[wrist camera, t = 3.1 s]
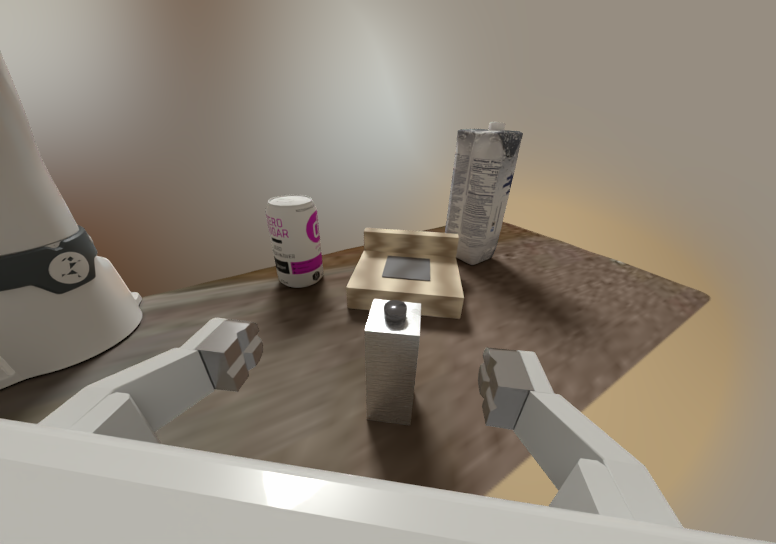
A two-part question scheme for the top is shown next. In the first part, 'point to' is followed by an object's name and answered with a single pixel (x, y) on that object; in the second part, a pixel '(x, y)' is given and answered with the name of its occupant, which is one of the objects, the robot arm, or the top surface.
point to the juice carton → (481, 189)
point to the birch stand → (408, 271)
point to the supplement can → (295, 239)
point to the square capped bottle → (391, 360)
